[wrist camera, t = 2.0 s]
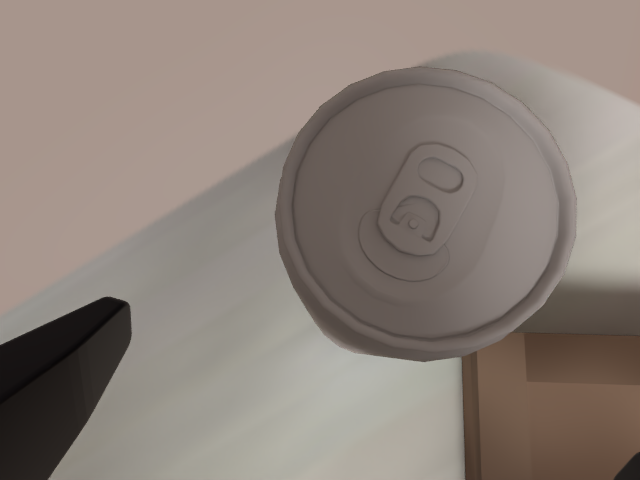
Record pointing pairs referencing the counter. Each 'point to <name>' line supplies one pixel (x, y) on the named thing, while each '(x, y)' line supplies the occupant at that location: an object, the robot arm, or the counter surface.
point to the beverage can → (424, 215)
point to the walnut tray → (551, 407)
